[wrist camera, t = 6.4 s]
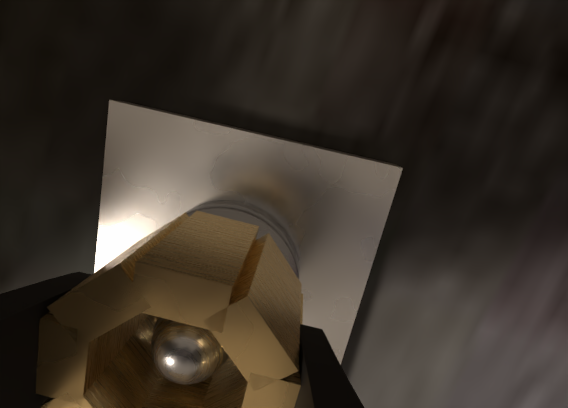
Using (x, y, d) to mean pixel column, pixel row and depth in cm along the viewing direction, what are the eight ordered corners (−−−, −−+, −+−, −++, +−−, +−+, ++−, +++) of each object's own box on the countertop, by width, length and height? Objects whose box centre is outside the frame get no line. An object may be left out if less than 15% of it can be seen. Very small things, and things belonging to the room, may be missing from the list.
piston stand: (395, 164, 12) (480, 207, 6) (325, 388, 15) (338, 571, 9) (124, 101, 12) (-47, 85, 6) (102, 335, 15) (-36, 481, 9)
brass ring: (318, 241, 9) (324, 309, 6) (275, 389, 11) (261, 514, 7) (137, 195, 10) (44, 238, 6) (118, 349, 11) (31, 455, 7)
